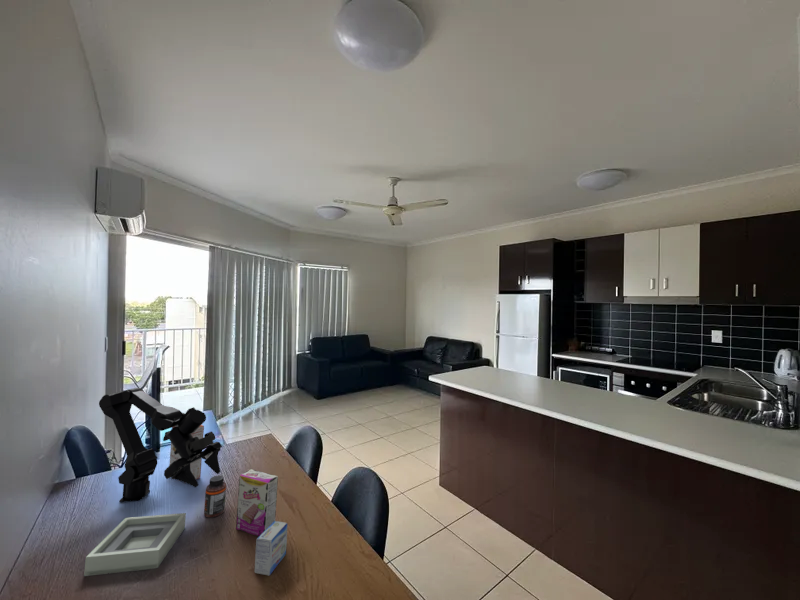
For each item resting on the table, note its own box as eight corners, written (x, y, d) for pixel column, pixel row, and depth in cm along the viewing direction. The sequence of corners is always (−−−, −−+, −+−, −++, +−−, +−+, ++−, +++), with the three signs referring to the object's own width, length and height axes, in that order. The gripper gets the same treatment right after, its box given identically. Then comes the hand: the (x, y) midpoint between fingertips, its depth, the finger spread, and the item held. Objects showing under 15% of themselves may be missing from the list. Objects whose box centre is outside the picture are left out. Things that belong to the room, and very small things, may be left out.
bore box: (83, 576, 79) (85, 557, 79) (124, 533, 95) (125, 517, 95) (157, 568, 83) (159, 549, 83) (184, 528, 98) (185, 513, 98)
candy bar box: (234, 530, 98) (238, 475, 99) (247, 520, 103) (250, 468, 104) (263, 539, 95) (267, 482, 96) (275, 529, 99) (279, 475, 100)
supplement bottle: (202, 511, 107) (205, 476, 108) (222, 505, 110) (225, 471, 111) (204, 520, 102) (207, 484, 103) (225, 514, 106) (228, 479, 106)
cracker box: (167, 473, 130) (171, 421, 132) (183, 468, 136) (187, 418, 137) (184, 484, 123) (188, 428, 124) (200, 478, 128) (205, 424, 129)
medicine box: (269, 576, 81) (271, 541, 82) (253, 573, 82) (256, 538, 83) (286, 554, 89) (288, 522, 90) (271, 551, 90) (273, 519, 90)
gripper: (174, 436, 101) (201, 477, 98) (219, 418, 119) (243, 453, 116) (152, 458, 102) (177, 500, 99) (200, 438, 120) (223, 472, 117)
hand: (208, 479), depth 108 cm, fingers open, 9 cm apart
